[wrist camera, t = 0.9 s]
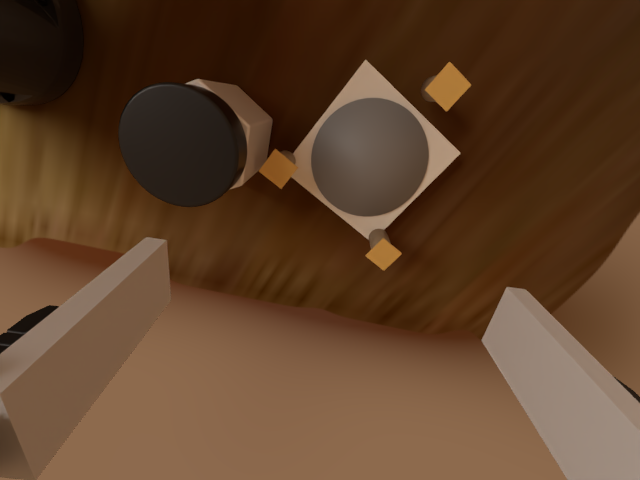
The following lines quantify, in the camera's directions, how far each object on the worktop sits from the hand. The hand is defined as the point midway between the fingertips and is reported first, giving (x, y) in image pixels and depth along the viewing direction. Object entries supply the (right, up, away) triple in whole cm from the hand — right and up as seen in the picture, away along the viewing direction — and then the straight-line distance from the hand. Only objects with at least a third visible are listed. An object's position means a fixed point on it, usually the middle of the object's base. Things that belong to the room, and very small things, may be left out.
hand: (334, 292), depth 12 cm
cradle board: (+5, +12, +19) cm, 23 cm away
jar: (-9, +13, +20) cm, 25 cm away
